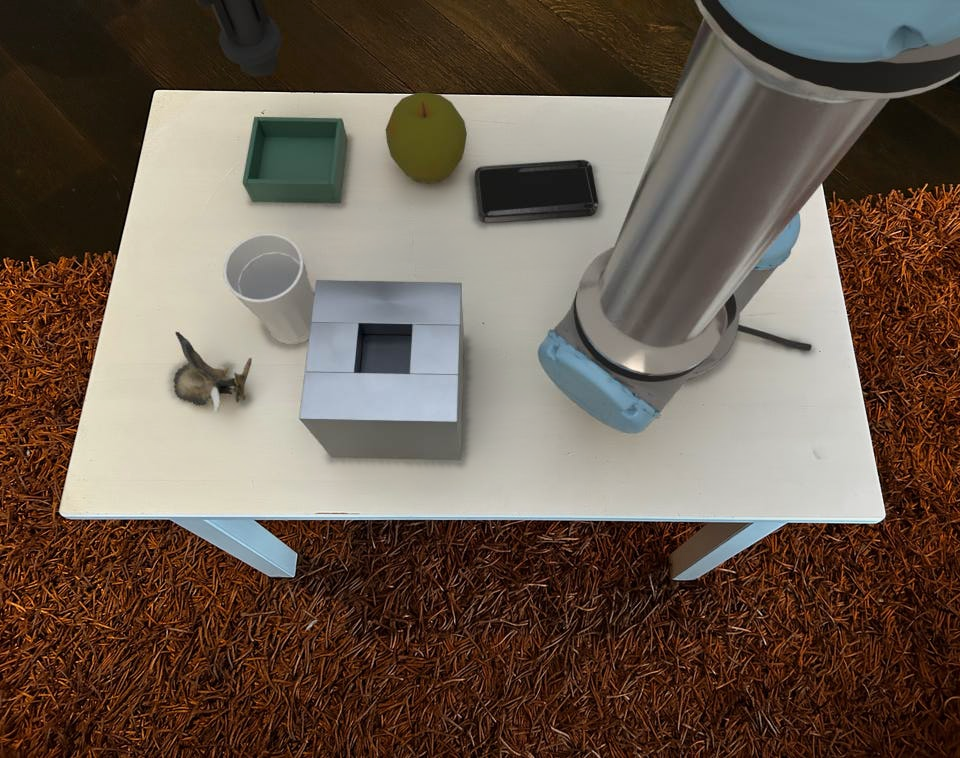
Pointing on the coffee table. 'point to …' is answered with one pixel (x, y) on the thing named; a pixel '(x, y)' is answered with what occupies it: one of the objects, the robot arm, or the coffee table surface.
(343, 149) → the green open tray
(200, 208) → the coffee table surface
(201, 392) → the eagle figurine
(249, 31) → the plug
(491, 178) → the phone
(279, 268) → the cup
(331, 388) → the square hole box
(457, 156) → the apple
